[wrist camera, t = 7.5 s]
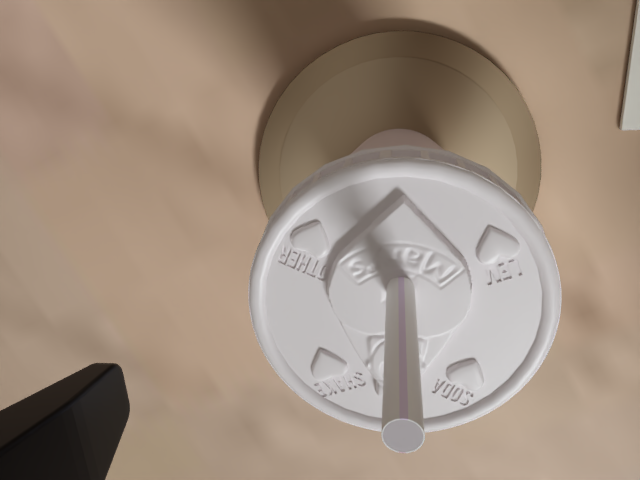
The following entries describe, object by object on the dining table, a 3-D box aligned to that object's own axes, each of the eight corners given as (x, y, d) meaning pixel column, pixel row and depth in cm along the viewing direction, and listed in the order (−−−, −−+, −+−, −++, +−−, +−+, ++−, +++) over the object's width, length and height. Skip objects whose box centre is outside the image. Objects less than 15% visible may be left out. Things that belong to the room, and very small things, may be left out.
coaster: (551, 22, 18) (555, 22, 18) (527, 300, 22) (529, 305, 22) (248, 39, 20) (244, 39, 19) (272, 297, 23) (270, 302, 23)
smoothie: (499, 89, 19) (723, 257, 6) (481, 266, 21) (612, 659, 8) (307, 88, 20) (138, 234, 7) (310, 258, 22) (189, 610, 9)
